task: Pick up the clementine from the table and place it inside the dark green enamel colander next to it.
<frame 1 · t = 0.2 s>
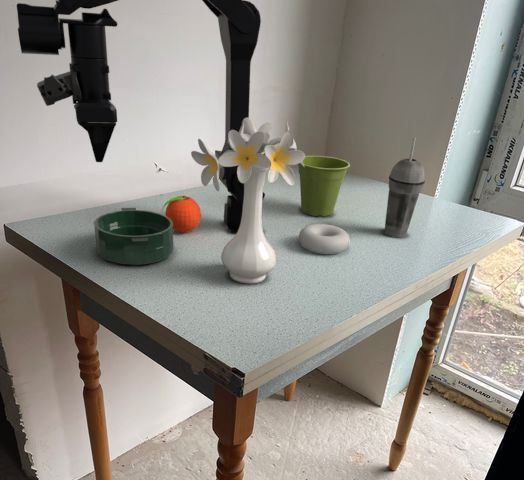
hand: (97, 155, 99), 14 cm above the table, tool pointing down, fingers open, 9 cm apart
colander: (135, 251, 101), on the table
colander handles: (134, 225, 98), point 5 cm above the table
donut: (322, 247, 110), on the table
beverage cup: (394, 234, 120), on the table
flower vase: (246, 279, 95), on the table
clementine: (180, 232, 111), on the table
plant pot: (316, 212, 128), on the table
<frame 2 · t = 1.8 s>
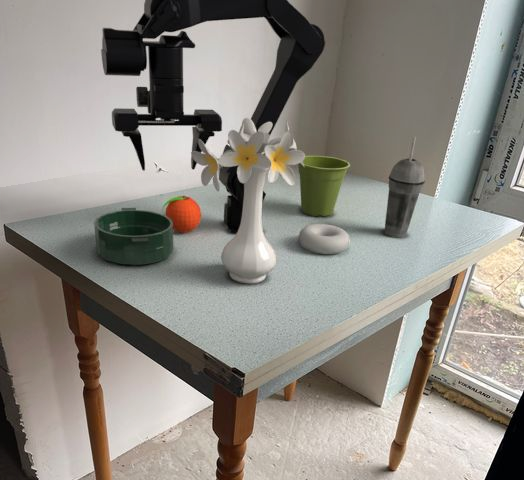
hand: (168, 169, 104), 12 cm above the table, tool pointing down, fingers open, 9 cm apart
nothing on the table moved.
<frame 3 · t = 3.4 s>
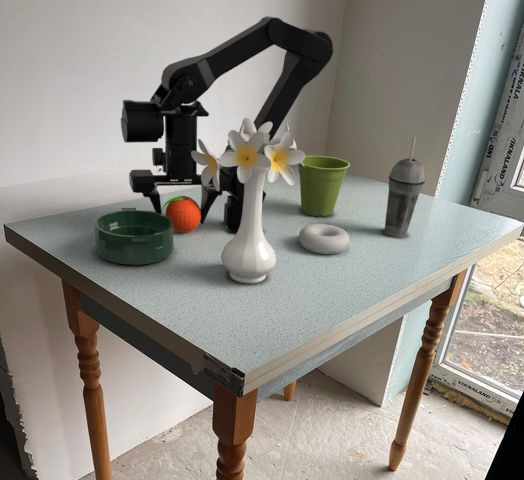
hand: (181, 224, 110), 2 cm above the table, tool pointing down, fingers closed on clementine, 8 cm apart
clementine: (180, 232, 111), on the table, touching gripper
everything else where it was.
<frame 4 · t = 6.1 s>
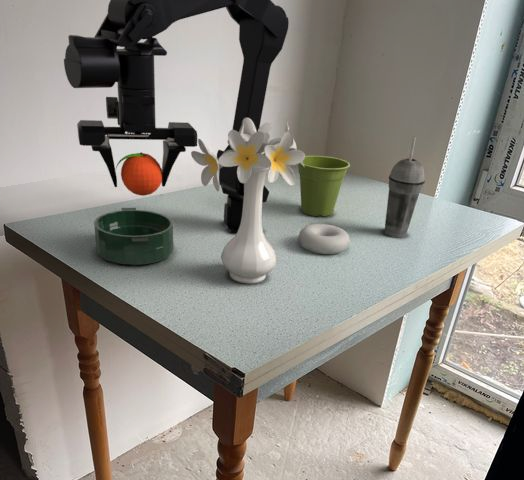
hand: (139, 186, 96), 11 cm above the table, tool pointing down, fingers closed on clementine, 8 cm apart
clementine: (139, 196, 97), point 10 cm above the table, touching gripper
everything else where it was.
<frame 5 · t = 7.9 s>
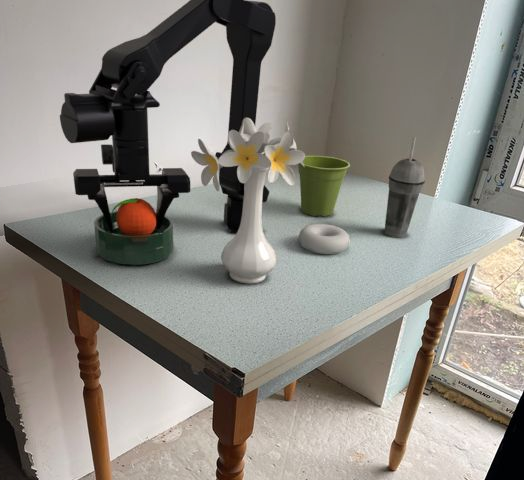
hand: (134, 229, 99), 4 cm above the table, tool pointing down, fingers closed on clementine, 8 cm apart
clementine: (134, 239, 100), point 2 cm above the table, touching gripper
everything else where it was.
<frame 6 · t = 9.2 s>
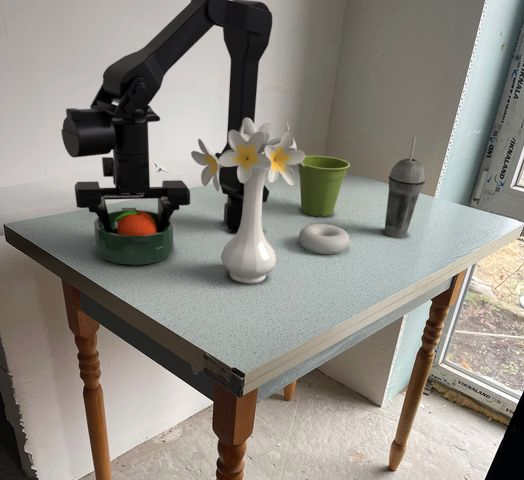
hand: (135, 241, 100), 2 cm above the table, tool pointing down, fingers closed on clementine, 8 cm apart
clementine: (135, 250, 101), resting on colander, touching gripper
everything else where it was.
when the fingers open (2 cm above the table, at t = 9.2 s): clementine stays where it is, resting on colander.
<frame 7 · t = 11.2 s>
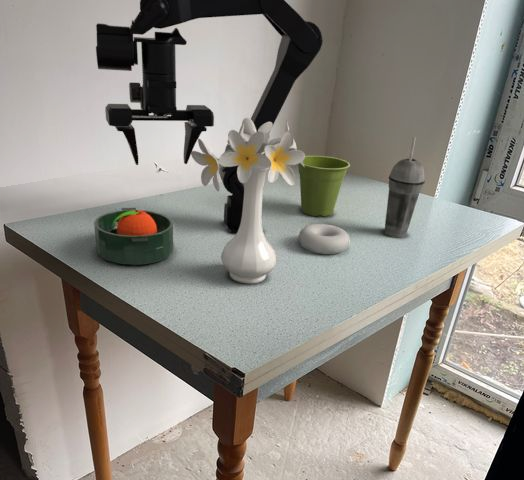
hand: (161, 164, 106), 12 cm above the table, tool pointing down, fingers open, 9 cm apart
clementine: (135, 250, 101), resting on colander
everything else where it was.
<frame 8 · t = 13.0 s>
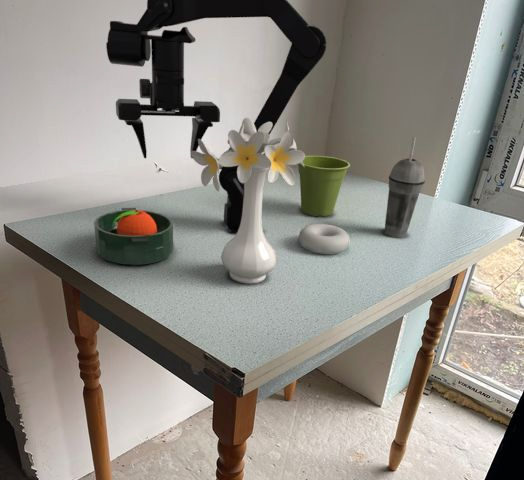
hand: (168, 157, 109), 13 cm above the table, tool pointing down, fingers open, 9 cm apart
nothing on the table moved.
at the end: clementine inside the target area in the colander (0.1 cm from its centre), point 0.3 cm above the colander's base; the gripper is holding nothing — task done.
